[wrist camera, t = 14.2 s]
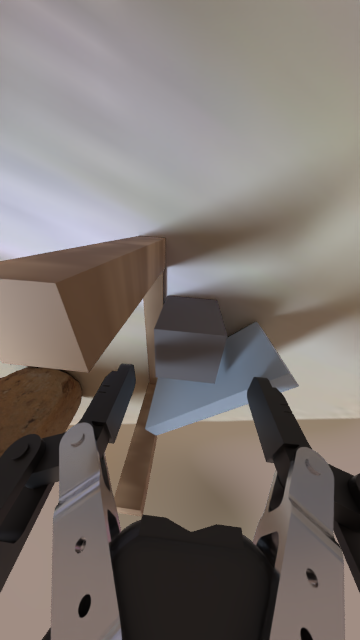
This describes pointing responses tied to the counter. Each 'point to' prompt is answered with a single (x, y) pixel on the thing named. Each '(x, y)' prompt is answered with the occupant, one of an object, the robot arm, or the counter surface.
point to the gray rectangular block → (189, 339)
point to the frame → (86, 324)
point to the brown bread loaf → (36, 404)
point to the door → (219, 383)
